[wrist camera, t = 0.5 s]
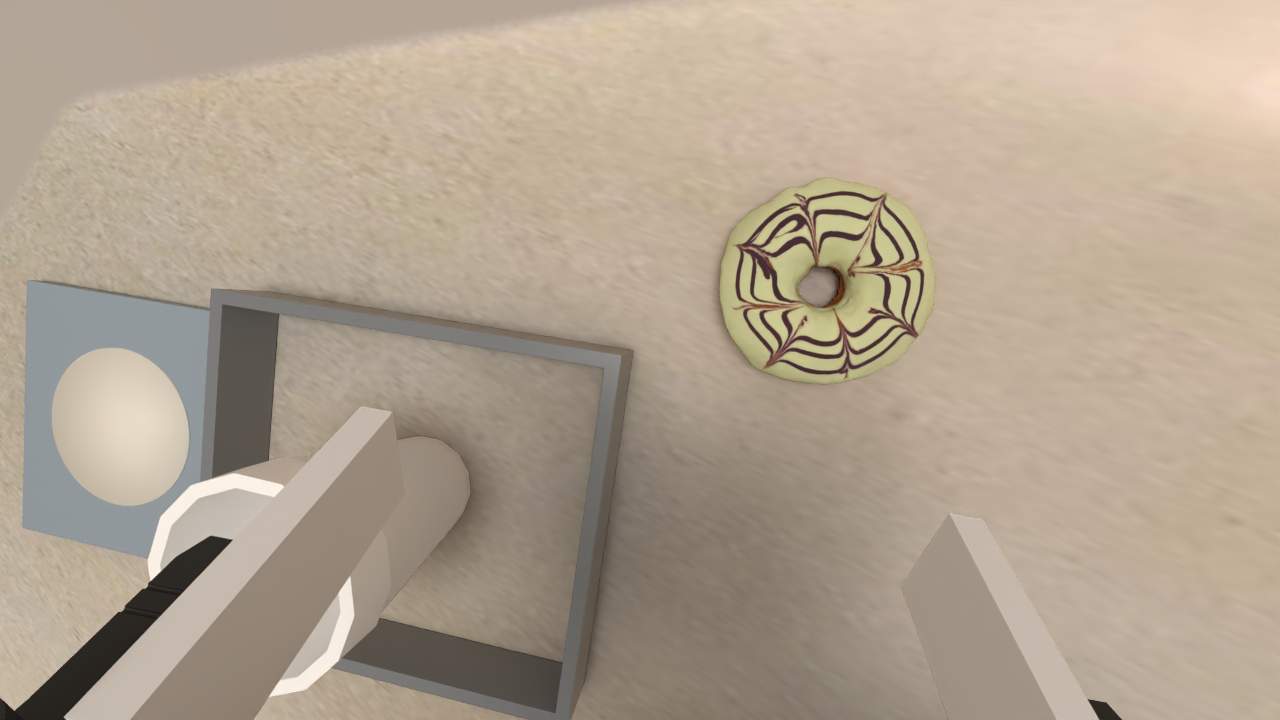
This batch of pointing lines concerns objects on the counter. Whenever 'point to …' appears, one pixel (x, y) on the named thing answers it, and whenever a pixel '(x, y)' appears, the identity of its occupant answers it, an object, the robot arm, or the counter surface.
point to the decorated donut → (865, 262)
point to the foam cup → (381, 573)
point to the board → (110, 412)
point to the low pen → (390, 648)
